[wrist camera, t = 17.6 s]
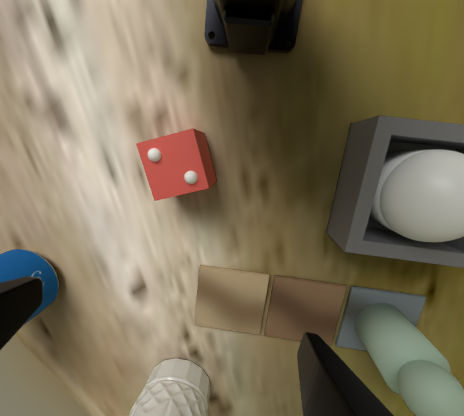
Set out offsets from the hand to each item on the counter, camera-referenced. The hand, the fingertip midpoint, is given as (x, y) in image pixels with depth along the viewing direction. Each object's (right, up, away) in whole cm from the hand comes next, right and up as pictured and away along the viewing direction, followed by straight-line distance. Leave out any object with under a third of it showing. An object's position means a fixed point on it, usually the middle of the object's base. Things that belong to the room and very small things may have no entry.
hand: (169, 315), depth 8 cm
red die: (-2, +7, +12) cm, 14 cm away
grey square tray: (+15, +5, +11) cm, 20 cm away
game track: (+9, -6, +14) cm, 18 cm away
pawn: (+16, -7, +14) cm, 22 cm away
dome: (+15, +5, +10) cm, 19 cm away
